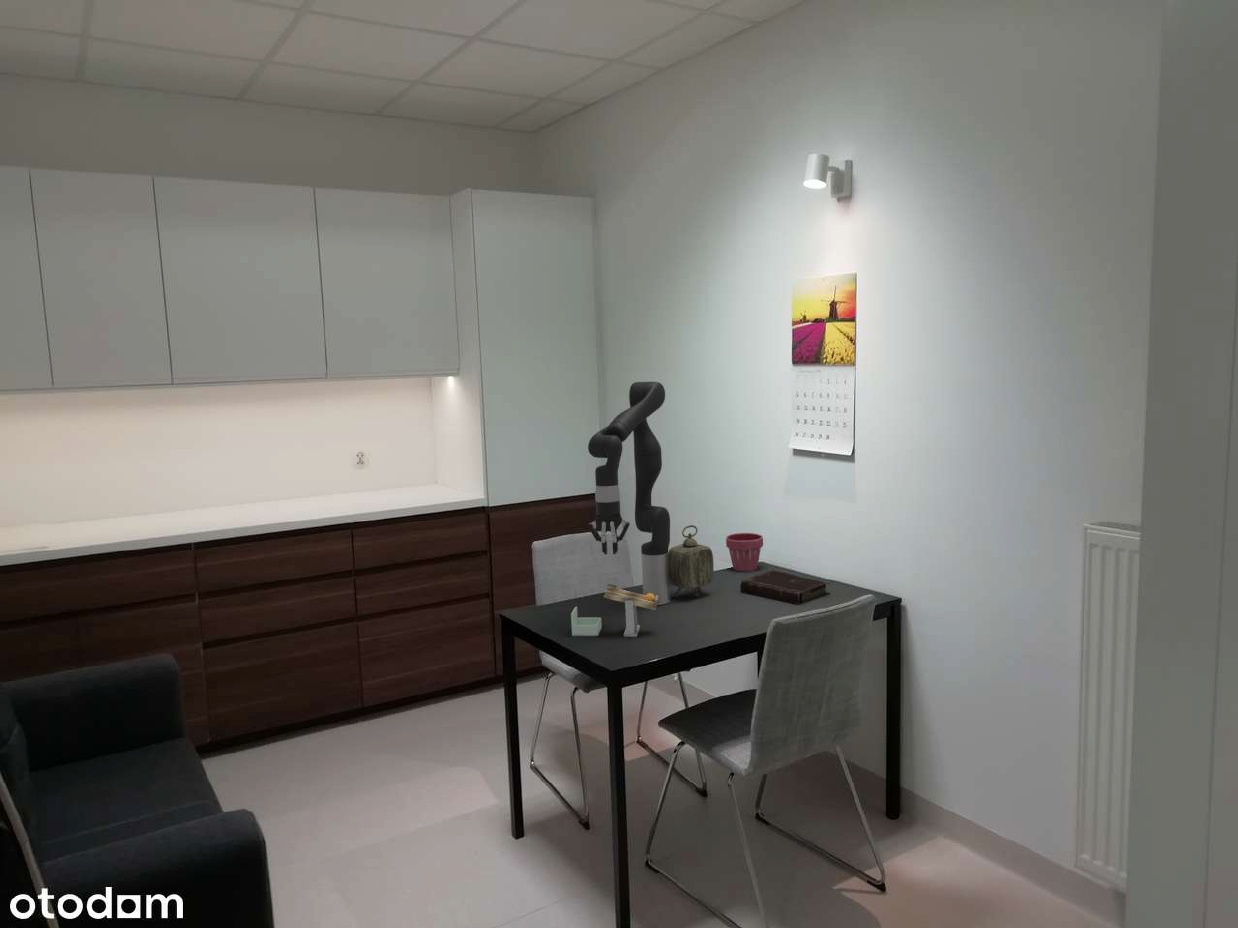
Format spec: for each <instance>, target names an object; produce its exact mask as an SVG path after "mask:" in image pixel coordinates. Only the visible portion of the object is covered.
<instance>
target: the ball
mask: <svg viewBox="0 0 1238 928" xmlns="http://www.w3.org/2000/svg"><path fill="white" fill-rule="evenodd" d="M645 600H647V601H651V602H654V601H655V596H654V595H653V594H651V593H649V594H647V595H646V596H645Z"/></svg>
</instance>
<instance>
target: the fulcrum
mask: <svg viewBox="0 0 1238 928" xmlns="http://www.w3.org/2000/svg"><path fill="white" fill-rule="evenodd" d="M624 608H625V630H624V633H623V638H626V637H627V638H628V637H629V638H630V637H633V638H636V637H638V635H639V632H640V628H641V624H638V613H637V611H638V610H637V606H636V605H634V602H633V600H625V603H624Z"/></svg>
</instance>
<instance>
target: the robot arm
mask: <svg viewBox="0 0 1238 928" xmlns="http://www.w3.org/2000/svg"><path fill="white" fill-rule="evenodd" d="M628 399H629V407H628V408H626V409H625V410H623V411H622V412H620V413H618V415H616V416H615V417H614V418H613V420H612V421H610V423H609V424H608V425H607V426H606V427H603V428H602V429H601V430H599V431H597V432H596V433H595V434H594V435H593V436H592V437H591V438H590V439H589V442H588V444H587V449H588V453H589V454H590V455H591V456H592V457H594V458H597V459H606V463H605V464H603V465H600V466H597V467H595V471H594V473H595V474H594V477H595V479H594V480H595V491H594V495H595V496H594V498H595V499H594V500H595V511H596V515H595V519H594V520H593V521H592V522H589V523H588V524H587V528H588V529H589V532H590V533H591V535H592V536H593V538H594V540H595V541H596V542H600V543H601V552H602V553H603V554H604V555H608V541H607V532H610V533H611V537H612V555H616V554H617V553H618V551H619V546H618V545H619V544H618V542H621V541H623V540H624V538H625V536H626V533H627V531H628V529H629V527H630V522H629V521H625V520H623V518H622V515H621V499H620V497H621V496H620V495H621V494H620V488H619V468H620V462H621V457H622V454H623V443H624V442H625V441H626V440H627V439H628V437H629V436H630V435H631V434H632V433H633V435H632V436H633V456H634V459H633V460H634V470H635V501H634V503H635V504H634V521H635V526H636V528H637V529H638V531H639V532H642V533H649V534H651V540H650V541H647V542H644V543H642V545H641V546H640V549H641V551H640V552H641V571H642V574H641V575H642V595H645V596H646V595H647V594H649V593H651V594H653V595H654V596H655V598H656V595H658V596H659V597H658V601H657V606H660V605H661V606H662V605H666V604H669V603H670V602H671V589H670V588H671V586H670V585H671V584H670V581H669V556H668V553H669V546H670V543H671V542H670V541H671V516H670V512H669V510H668V509H667V508H666V507H664V506H659V505H657V506H656V505H652V492H653V488H654V486H655V483H656V482H657V479H658V478H659V475H660V474H661V470H662V467H663V459H662V456H663V455H662V446H661V444H660V442H659V440H658V438H657V437H656V435H655V434H654V432H653V431H652V429H651V428H650V425H649V423H648V418H649V417H650V416H651V415H652V414H654V412H657V411H658V410H659V409H660V408H661V407H662V406H663V405H664V402H665V400H666V389H665V387H664V385H663V384H662V383H661V382H658V381H636V382H633V383H632V384H631V385H630V387H629V391H628ZM620 525H621V528H622V531H621V532H620V535H619V536H618V531H617V530H618V528H619V527H620ZM597 527H598V528H599V530H600V531H601V535H600V534H599V533H598V530H597Z"/></svg>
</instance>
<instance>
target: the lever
mask: <svg viewBox="0 0 1238 928" xmlns="http://www.w3.org/2000/svg"><path fill="white" fill-rule="evenodd" d="M603 595H604V596H603V598H605V599H608V600H612V601H616V602H621V603H624V604H625V600H633V602H634V605H636V607H640V608H644V609H649V610H652V611H656V609H657V606H658V605H657V601H658V597H659V596H658V595H656V598H655V601H654V602H651V601H647V600H645V595H643V594H640V593H637V592H632V591H629V590H624V589H620V588H617V585H615V584H612V583H607V588H606V590H605V592H604V594H603Z"/></svg>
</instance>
